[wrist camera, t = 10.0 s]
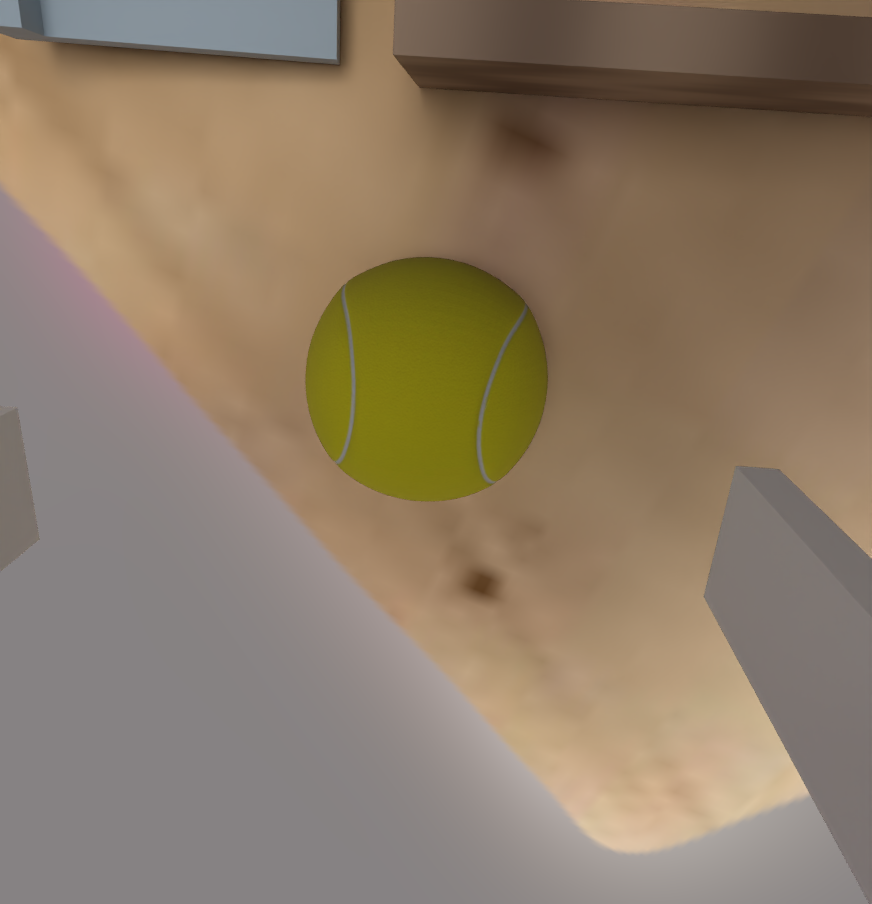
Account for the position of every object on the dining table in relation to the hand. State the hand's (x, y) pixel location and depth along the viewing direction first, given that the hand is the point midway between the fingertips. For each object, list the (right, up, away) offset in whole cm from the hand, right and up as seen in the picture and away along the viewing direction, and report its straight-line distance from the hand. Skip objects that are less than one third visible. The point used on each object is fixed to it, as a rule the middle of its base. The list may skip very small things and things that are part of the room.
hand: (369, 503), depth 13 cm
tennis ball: (+1, +4, +11) cm, 12 cm away
